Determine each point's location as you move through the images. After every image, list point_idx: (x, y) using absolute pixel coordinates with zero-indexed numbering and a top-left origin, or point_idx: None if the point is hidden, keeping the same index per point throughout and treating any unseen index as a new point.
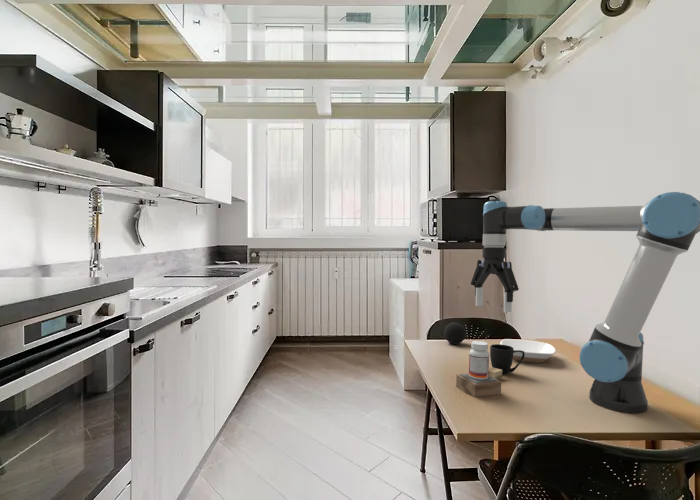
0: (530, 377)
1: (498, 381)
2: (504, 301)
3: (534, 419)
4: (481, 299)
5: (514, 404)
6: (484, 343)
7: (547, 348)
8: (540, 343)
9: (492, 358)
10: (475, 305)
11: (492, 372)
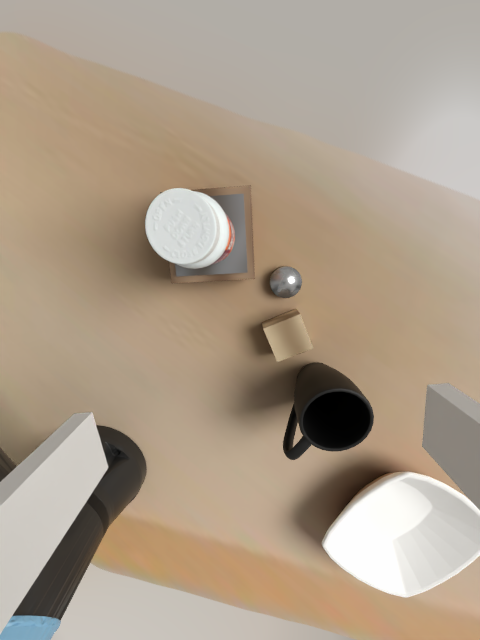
0: (262, 418)
1: (173, 276)
2: (1, 490)
3: (42, 255)
4: (474, 483)
5: (119, 268)
6: (170, 246)
7: (385, 574)
8: (418, 585)
9: (328, 371)
10: (451, 385)
11: (269, 325)
